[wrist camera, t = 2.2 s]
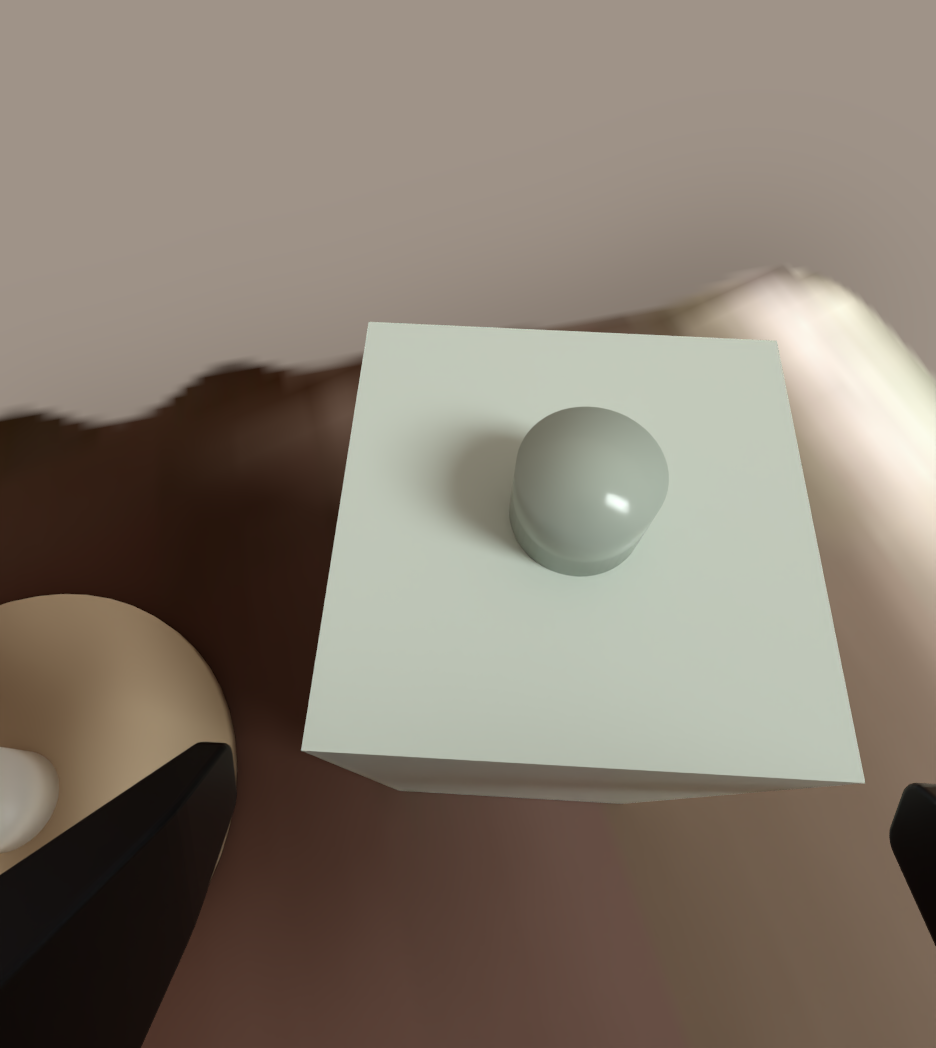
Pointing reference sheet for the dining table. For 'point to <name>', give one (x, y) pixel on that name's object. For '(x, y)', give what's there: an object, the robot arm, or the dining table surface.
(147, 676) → the cork mat
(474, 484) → the cover
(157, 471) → the dining table surface
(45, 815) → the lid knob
